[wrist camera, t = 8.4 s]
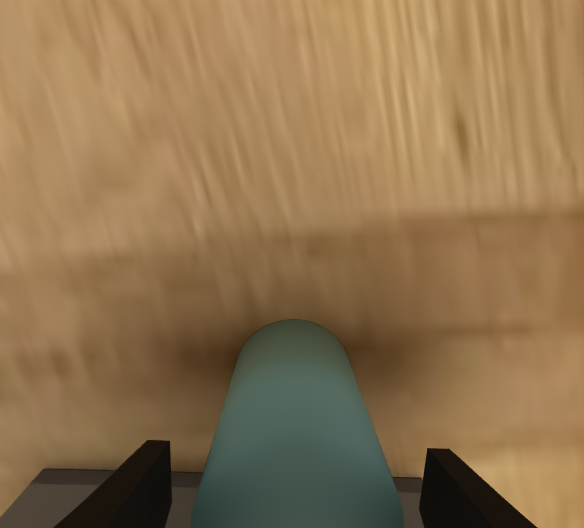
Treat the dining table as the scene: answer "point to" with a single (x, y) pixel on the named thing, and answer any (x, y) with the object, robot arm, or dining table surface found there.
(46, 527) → the tote
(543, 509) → the dining table surface
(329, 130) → the dining table surface
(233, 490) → the teal cylinder
